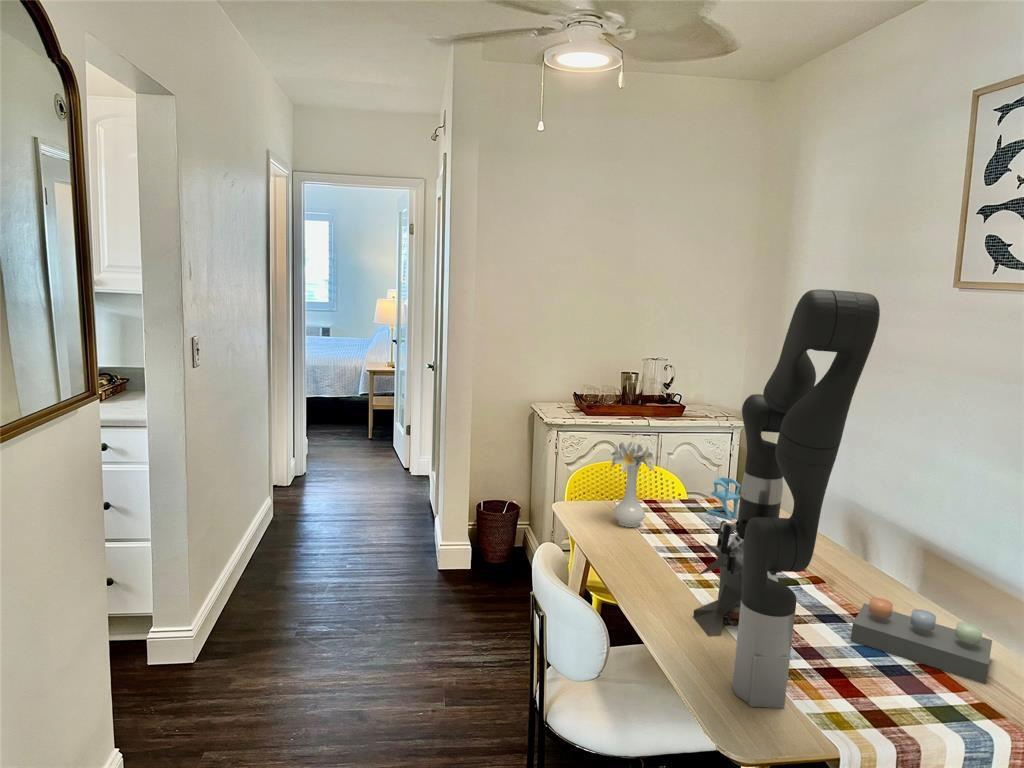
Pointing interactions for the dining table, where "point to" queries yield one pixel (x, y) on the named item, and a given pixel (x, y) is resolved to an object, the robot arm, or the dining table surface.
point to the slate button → (923, 619)
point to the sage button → (968, 633)
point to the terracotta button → (880, 607)
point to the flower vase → (631, 482)
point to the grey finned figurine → (722, 595)
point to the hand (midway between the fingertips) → (751, 572)
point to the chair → (725, 498)
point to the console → (922, 644)
